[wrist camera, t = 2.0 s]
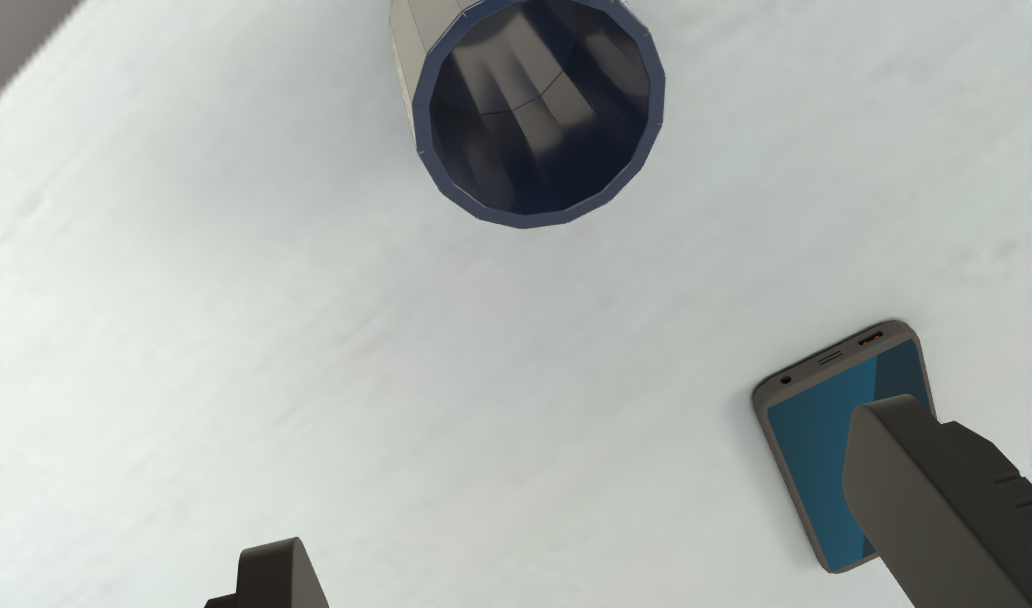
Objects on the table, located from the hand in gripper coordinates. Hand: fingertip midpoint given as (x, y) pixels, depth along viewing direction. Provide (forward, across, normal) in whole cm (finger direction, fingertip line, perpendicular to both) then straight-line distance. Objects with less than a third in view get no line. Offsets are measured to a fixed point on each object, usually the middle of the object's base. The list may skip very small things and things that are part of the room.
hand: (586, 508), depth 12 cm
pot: (+18, -2, -2) cm, 18 cm away
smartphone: (+18, -17, +22) cm, 33 cm away
